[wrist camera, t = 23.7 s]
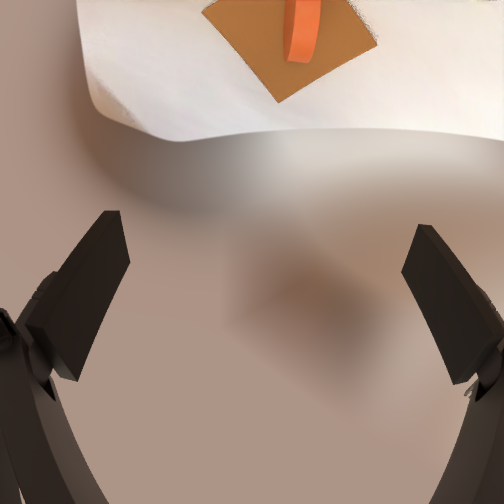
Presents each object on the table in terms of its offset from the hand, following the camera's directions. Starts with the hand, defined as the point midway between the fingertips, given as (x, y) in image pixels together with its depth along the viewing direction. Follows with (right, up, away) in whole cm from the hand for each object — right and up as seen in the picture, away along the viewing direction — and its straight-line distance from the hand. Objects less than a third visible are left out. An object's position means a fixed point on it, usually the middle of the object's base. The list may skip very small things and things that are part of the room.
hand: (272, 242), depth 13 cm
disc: (+3, +21, +8) cm, 23 cm away
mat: (+3, +24, +13) cm, 28 cm away
